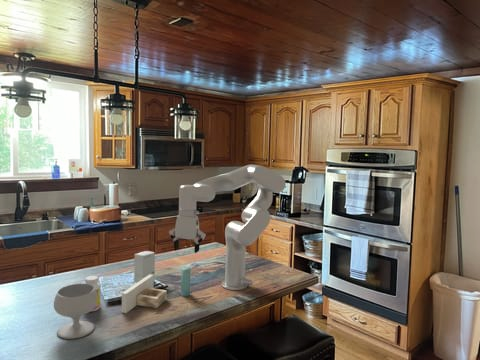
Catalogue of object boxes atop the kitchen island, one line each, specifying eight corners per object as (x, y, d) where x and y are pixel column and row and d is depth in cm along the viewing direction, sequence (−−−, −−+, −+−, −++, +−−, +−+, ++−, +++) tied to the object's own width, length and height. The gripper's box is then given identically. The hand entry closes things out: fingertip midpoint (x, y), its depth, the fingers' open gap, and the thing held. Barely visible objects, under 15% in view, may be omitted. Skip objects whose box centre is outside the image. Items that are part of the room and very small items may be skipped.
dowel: (191, 293, 160) (191, 268, 159) (187, 297, 156) (188, 270, 155) (183, 292, 161) (183, 266, 160) (179, 295, 157) (180, 269, 156)
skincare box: (142, 287, 165) (143, 256, 164) (133, 284, 168) (133, 253, 167) (155, 281, 173) (155, 251, 171) (146, 278, 176) (146, 249, 174)
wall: (153, 291, 161) (153, 274, 160) (126, 313, 139) (126, 293, 139) (149, 291, 161) (149, 274, 160) (121, 312, 140) (121, 293, 139)
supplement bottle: (79, 312, 139) (79, 280, 137) (85, 304, 145) (85, 274, 144) (97, 312, 139) (97, 281, 138) (102, 305, 146) (102, 274, 144)
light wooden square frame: (166, 299, 153) (166, 290, 153) (156, 308, 144) (156, 298, 144) (147, 296, 155) (148, 287, 155) (137, 304, 146) (137, 295, 146)
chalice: (104, 322, 132) (104, 283, 130) (85, 342, 118) (85, 299, 116) (68, 319, 133) (67, 281, 131) (45, 339, 119) (44, 297, 117)
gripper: (208, 213, 157) (207, 250, 158) (173, 209, 161) (172, 246, 163) (202, 216, 149) (201, 255, 151) (165, 212, 154) (164, 251, 155)
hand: (186, 250), depth 157 cm, fingers open, 9 cm apart
